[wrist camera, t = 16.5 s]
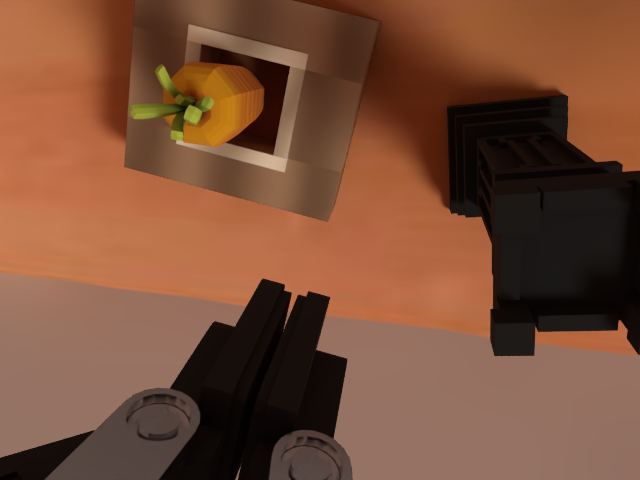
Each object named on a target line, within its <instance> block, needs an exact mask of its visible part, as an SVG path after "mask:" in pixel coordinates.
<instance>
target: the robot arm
mask: <svg viewBox="0 0 640 480" xmlns="http://www.w3.org/2000/svg"><path fill="white" fill-rule="evenodd" d="M284 288H285V285H284V284H281V283H277V282H274V281H270V280H266V279H262V280H261V282H260V284H259V285H258V287H257V289H256V291H255V292H254V294H253V296H252V298H251V299H250V301H249V303H248V305H247V307H246V308H245V310H244V312H243V314H242V315H241V317H240V319H239V321H238V322H237V324H236V326H235V327H233V326H230V325H227V324H223V323H219V322H216V321H215V322H213V323H212V325H211V326H210V328H209V329H208V331H207V332H206V334H205V335H204V337H203V338H202V340H201V341H200V343H199V344H198V346H197V348H196V349H195V351H194V352H193V354H192V355H191V357H190V358H189V360H188V361H187V363H186V364H185V366H184V368H183V369H182V370H181V372H180V374H179V375H178V377H177V378H176V380H175V381H174V383H173V384H172V386H171V387H170V389H167V388H154V389H148V390H144V391H142V392H139V393H137V394H134V395H133V396H132V397H130V398H129V399H127V400H126V401H125V402H124V403H123V404H122V405H121V406H119V407H118V408H117V409H116V410H115V411H114V412H113V413H112V414H111V415H110V416H109V418H107V419H106V420H105V421H104V422H103V423H102V424H101V425H100V426H99V427H98V428H97V429H96V430H94V431H90V432H87V433H83V434H80V435H76V436H73V437H70V438H66V439H63V440H60V441H56V442H53V443H49V444H46V445H42V446H39V447H36V448H32V449H29V450H25V451H22V452H18V453H15V454H12V455H8V456H5V457H2V458H0V480H235V479H236V476H237V474H238V471H239V469H240V466H241V469H240V473H239V477H238V480H353V479H352V467H351V462H350V458H349V456H348V455H347V453H346V451H345V450H344V448H343V447H342V446H341V445H340V444H338V442H337V441H336V440H334V439H333V438H334V433H335V427H336V421H337V416H338V410H339V404H340V398H341V394H342V388H343V382H344V377H345V371H346V365H347V359H346V358H343V357H339V356H336V355H332V354H329V353H325V352H321V351H318V350H316V348H317V345H318V341H319V337H320V334H321V330H322V326H323V322H324V319H325V315H326V311H327V308H328V304H329V300H330V297H328V296H324V295H320V294H317V293H313V292H310V291H308V294H307V296H306V297H305V296H302V295H298V296H297V299H296V301H295V304H294V306H293V309H292V311H291V314H290V316H289V319H288V321H287V324H286V326H285V329H284V325H285V321H286V317H287V312H288V308H289V304H290V299H291V294H292V293H291V292H287V291H284ZM283 330H284V331H283Z"/></svg>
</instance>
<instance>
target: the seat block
mask: <svg viewBox="0 0 640 480" xmlns="http://www.w3.org/2000/svg"><path fill="white" fill-rule="evenodd" d="M380 23H381V22H380V21H376V20H372V19H368V18H364V17H360V16H356V15H352V14H348V13H344V12H340V11H336V10H332V9H328V8H324V7H319V6H315V5H311V4H307V3H303V2H299V1H295V0H135V9H134V25H133V40H132V55H131V71H130V86H129V102H128V117H127V133H126V148H125V164H124V167H126V168H130V169H134V170H138V171H141V172H145V173H149V174H152V175H156V176H160V177H163V178H167V179H171V180H175V181H178V182H182V183H186V184H189V185H193V186H197V187H201V188H204V189H208V190H212V191H215V192H219V193H223V194H226V195H230V196H234V197H238V198H241V199H245V200H249V201H252V202H256V203H260V204H263V205H267V206H271V207H275V208H278V209H282V210H286V211H289V212H293V213H297V214H301V215H304V216H308V217H312V218H315V219H319V220H323V221H326V222H328V221H329V218H330V216H331V213H332V211H333V208H334V206H335V202H336V198H337V194H338V191H339V187H340V183H341V179H342V175H343V171H344V167H345V163H346V159H347V155H348V151H349V147H350V143H351V139H352V135H353V131H354V127H355V123H356V119H357V115H358V111H359V107H360V103H361V99H362V95H363V91H364V87H365V83H366V79H367V75H368V71H369V67H370V63H371V59H372V55H373V51H374V47H375V43H376V39H377V35H378V31H379V27H380ZM221 49H224V50H228V51H232V52H236V53H240V54H244V55H248V56H252V57H256V58H260V59H263V60H267V61H271V62H275V63H279V64H283V65H287V66H290V71H289V76H288V81H287V87H286V92H285V97H284V102H283V108H282V113H281V118H280V123H279V129H278V134H277V139H276V140H273V139H269V138H265V137H261V136H257V135H254V134H250V133H246V132H242V131H241V132H240V133H239V134H238V135H236V136H235V137H234V138H232V139H231V140H229V141H227V142H226V143H224V144H222V145H220V146H219V147H212V146H205V145H198V144H191V143H185V142H183V141H176V140H173V139H171V132H170V129H171V126H170V125H169V124H168V122H167V121H166V120H165V119H164V116H162V117H156V118H148V119H133V118H132V116H131V115H130V113H129V107H130V105H135V104H164V99H163V86H162V85H161V84H160V82H159V80H158V78H157V76H156V73H155V70H156V68H157V67H158V66H159V65H161V64H162V65H164V67H165V69H166V71H167V73H168V75H169V77H170V79H171V78H172V77H173V76H174V75H175V74H176V73H177V72H178V71H179V70H180V69H181V68H182V67H183V66H184V65H185V64H186V63H189V62H204V63H217V64H219V60H220V52H221Z"/></svg>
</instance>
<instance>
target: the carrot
mask: <svg viewBox="0 0 640 480" xmlns="http://www.w3.org/2000/svg"><path fill="white" fill-rule="evenodd" d="M155 73H156V76H157V78H158V80H159V82H160V84H161V85H162V86H163V99H164V104H135V105H130V107H129V113H130V115H131V116H132V118H133V119H148V118H156V117H162V116H164V119H165V120H166V121H167V122H168V124H169V125H170V126H171V129H170V132H171V139H173V140H176V141H183V142H185V143H191V144H198V145H205V146H212V147H219V146H220V145H222V144H224V143H226V142H227V141H229V140H231V139H232V138H234V137H235V136H236V135H238V134H239V133H240V132H241V131H243V130H244V129H245V128H246V127H247V126H248V125H249V124H251V123H252V122H253V121H254V120H255V119H256V118H257V117H258V116H259V115H260V113H261V112H262V110H263V105H264V87H263V86H262V84H261V83H260V82H259V81H258V79H257V78H256V77H255V76H254V74H253V73H252V72H251V71H249V70H248V69H246V68H244V67H242V66H234V65H225V64H217V63H204V62H189V63H186V64H185V65H184V66H183V67H182V68H181V69H180V70H179V71H178V72H177V73H176V74H175V75H174V76H173V77H172V78H171V79H170V77H169V75H168V73H167V71H166V69H165V67H164V65H162V64H161V65H159V66H158V67H157V68H156V70H155Z"/></svg>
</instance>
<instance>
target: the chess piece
mask: <svg viewBox="0 0 640 480" xmlns="http://www.w3.org/2000/svg"><path fill="white" fill-rule="evenodd" d="M447 116H448V150H449V185H450V211H451V214H452V213H458V215H465V216H466V217H482V219H483V222H484V225H485V227H486V230H487V233H488V235H489V238H490V240H491V243H492V274H493V309H491V325H490V340H491V344H492V348H493V352H494V355H495V356H533V355H534V348H535V326H536V328H537V330H538V332H552V331H609V330H618V321H619V320H621V321H622V323H623V324H624V326H625V327H626V328H627V330H628V333H627V339H628V341H629V342H630V343H631V345H632V346H633V348H634V349H635V351H636V352H637V354H638V355H640V171H629V172H622V167H623V165H622V164H620V163H619V162H617V161H607V162H595V161H594V160H593V159H591V158H590V157H588V156H587V155H586V154H584V153H583V152H582V151H580V150H579V149H578V148H576V147H575V146H574V145H572V144H571V143H570V142H568V141H567V128H568V117H567V116H568V96H566V95H559V96H549V97H539V98H529V99H519V100H509V101H499V102H489V103H479V104H469V105H458V106H448V107H447Z"/></svg>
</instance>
